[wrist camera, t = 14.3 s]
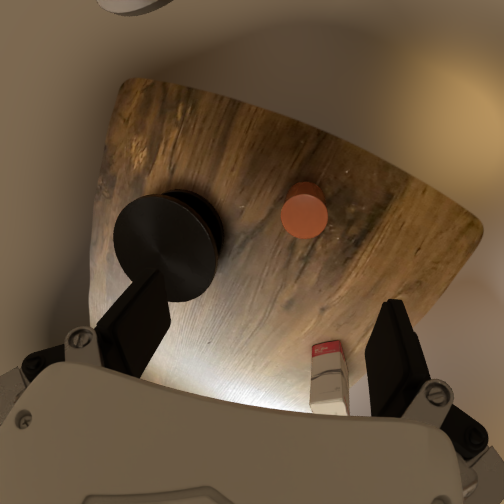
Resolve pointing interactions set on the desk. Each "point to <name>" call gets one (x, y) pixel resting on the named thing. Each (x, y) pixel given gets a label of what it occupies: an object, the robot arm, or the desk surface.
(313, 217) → the orange cylinder
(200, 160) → the desk surface
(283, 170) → the desk surface
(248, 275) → the desk surface
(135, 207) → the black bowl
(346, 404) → the ink box
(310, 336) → the desk surface
